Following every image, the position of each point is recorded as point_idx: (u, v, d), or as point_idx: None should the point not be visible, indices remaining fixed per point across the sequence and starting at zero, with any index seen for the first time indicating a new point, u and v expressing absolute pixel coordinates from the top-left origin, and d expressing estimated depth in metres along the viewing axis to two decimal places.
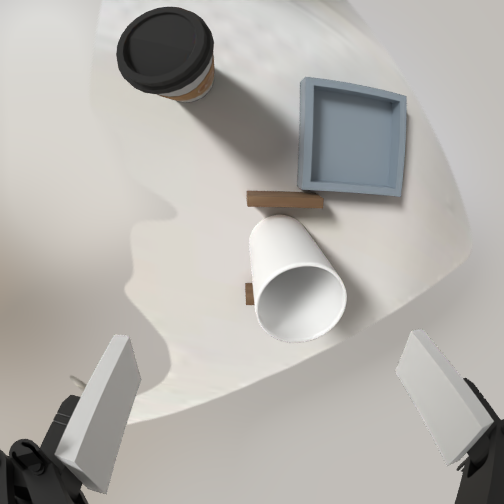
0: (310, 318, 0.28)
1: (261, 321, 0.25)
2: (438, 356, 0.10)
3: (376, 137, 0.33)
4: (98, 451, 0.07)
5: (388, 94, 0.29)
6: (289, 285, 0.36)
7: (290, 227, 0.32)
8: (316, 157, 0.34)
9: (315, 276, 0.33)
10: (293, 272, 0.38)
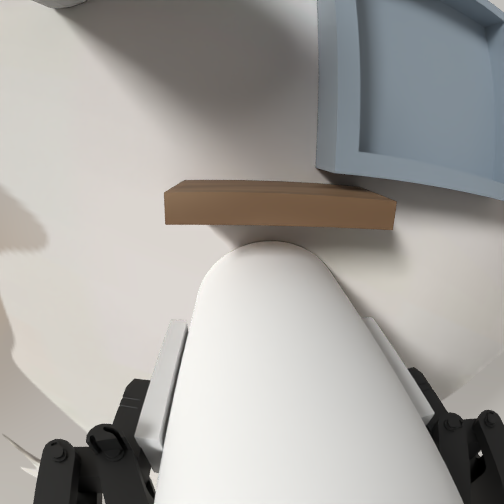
0: None
1: None
2: (382, 343, 0.11)
3: (474, 80, 0.11)
4: None
5: (486, 3, 0.07)
6: None
7: (300, 297, 0.09)
8: (363, 97, 0.12)
9: None
10: None
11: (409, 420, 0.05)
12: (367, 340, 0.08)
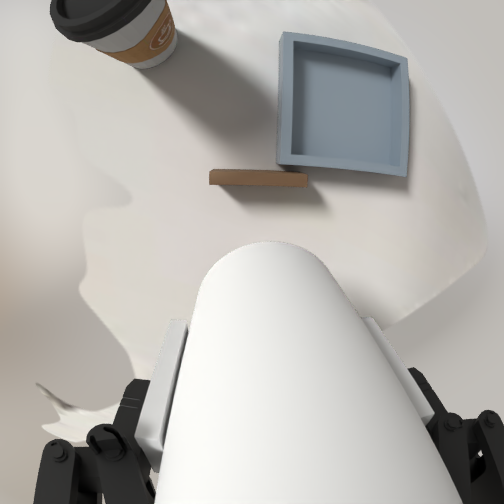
0: None
1: None
2: (382, 343, 0.11)
3: (374, 106, 0.26)
4: None
5: (385, 54, 0.22)
6: None
7: (300, 297, 0.09)
8: (299, 127, 0.27)
9: None
10: None
11: (408, 420, 0.05)
12: (366, 340, 0.08)
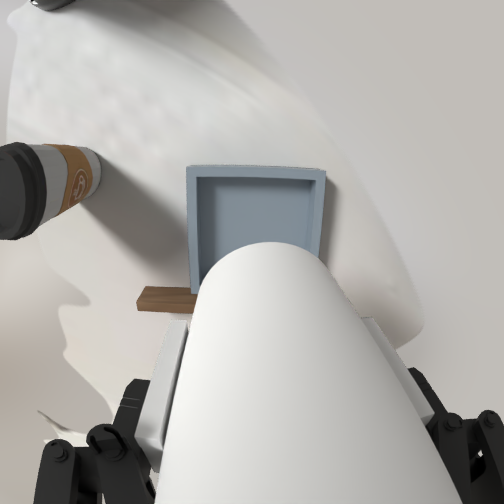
0: None
1: None
2: (382, 343, 0.11)
3: (287, 224, 0.32)
4: None
5: (298, 173, 0.28)
6: None
7: (300, 298, 0.09)
8: (211, 254, 0.33)
9: None
10: None
11: (408, 422, 0.05)
12: (367, 341, 0.08)
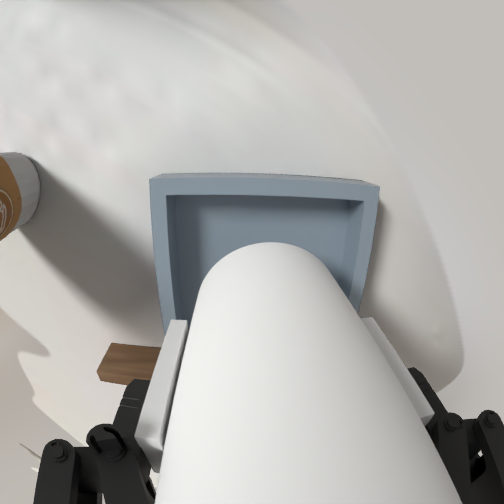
0: None
1: None
2: (382, 343, 0.11)
3: None
4: None
5: (338, 189, 0.16)
6: None
7: (300, 298, 0.09)
8: None
9: None
10: None
11: (408, 422, 0.05)
12: (367, 342, 0.08)
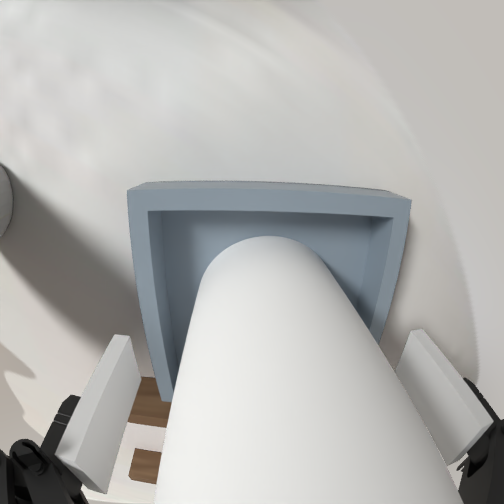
0: None
1: None
2: (438, 356, 0.10)
3: None
4: (98, 451, 0.07)
5: (363, 203, 0.13)
6: None
7: (295, 285, 0.10)
8: None
9: None
10: None
11: (396, 395, 0.06)
12: (357, 324, 0.09)
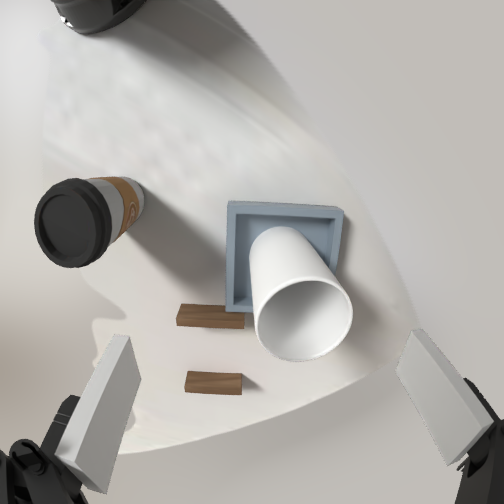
0: (313, 336, 0.26)
1: (261, 338, 0.23)
2: (438, 356, 0.10)
3: None
4: (98, 451, 0.07)
5: (321, 212, 0.33)
6: (290, 300, 0.34)
7: (293, 239, 0.31)
8: (243, 277, 0.38)
9: (318, 291, 0.31)
10: (295, 287, 0.37)
11: (321, 261, 0.26)
12: (314, 251, 0.29)
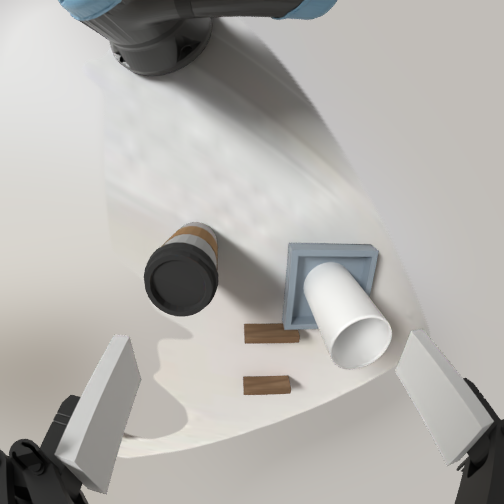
0: (361, 349, 0.35)
1: (332, 356, 0.32)
2: (438, 356, 0.10)
3: None
4: (98, 451, 0.07)
5: (362, 253, 0.42)
6: None
7: (344, 278, 0.39)
8: (297, 301, 0.47)
9: None
10: None
11: (368, 298, 0.34)
12: (360, 287, 0.38)
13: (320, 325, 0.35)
